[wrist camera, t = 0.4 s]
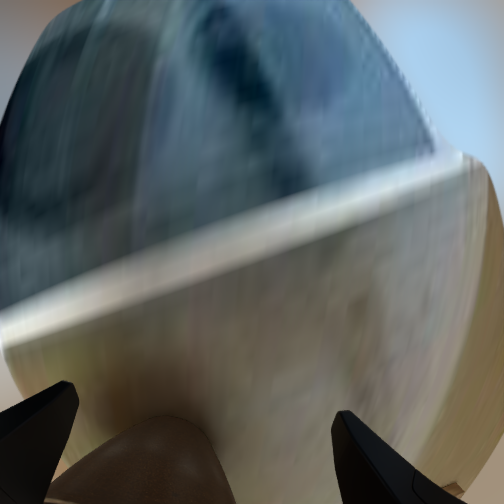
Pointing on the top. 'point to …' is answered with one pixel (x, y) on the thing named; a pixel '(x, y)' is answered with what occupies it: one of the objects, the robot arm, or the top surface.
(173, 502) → the plant pot
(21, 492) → the robot arm
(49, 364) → the top surface
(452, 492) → the arena
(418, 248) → the top surface
